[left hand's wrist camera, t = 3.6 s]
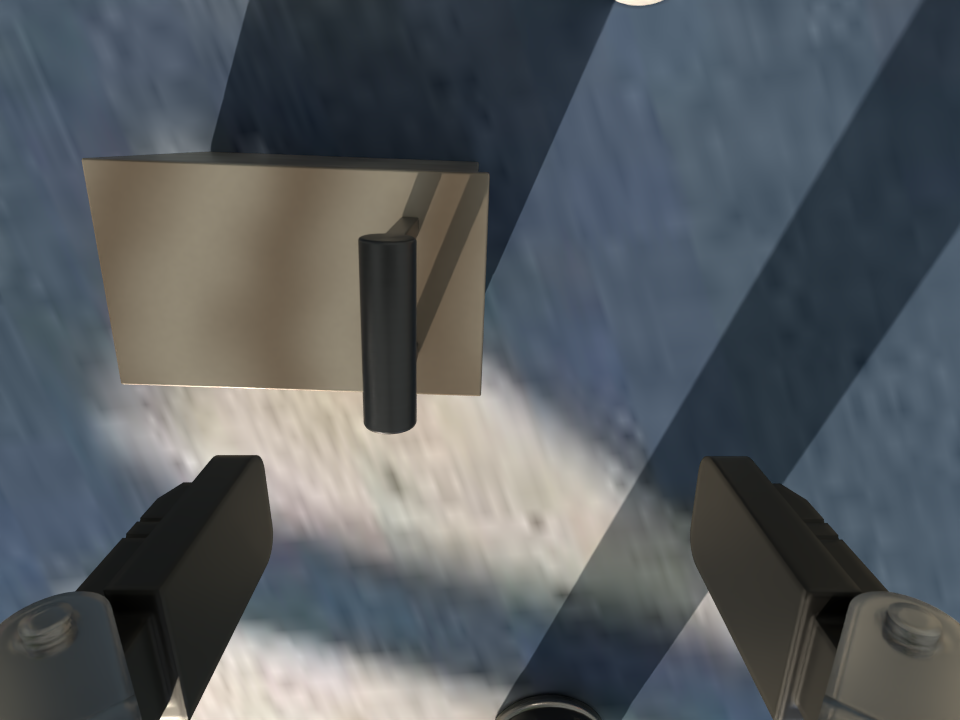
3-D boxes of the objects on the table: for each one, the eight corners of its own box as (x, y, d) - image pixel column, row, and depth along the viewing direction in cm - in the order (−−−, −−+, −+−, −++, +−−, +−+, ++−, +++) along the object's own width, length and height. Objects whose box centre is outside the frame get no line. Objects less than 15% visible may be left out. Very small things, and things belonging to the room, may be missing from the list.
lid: (489, 172, 24) (493, 187, 17) (480, 387, 28) (481, 482, 20) (96, 157, 24) (-78, 166, 17) (133, 375, 27) (1, 467, 20)
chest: (478, 161, 34) (478, 171, 24) (473, 321, 37) (471, 386, 28) (208, 151, 34) (97, 157, 24) (225, 312, 37) (133, 375, 27)
